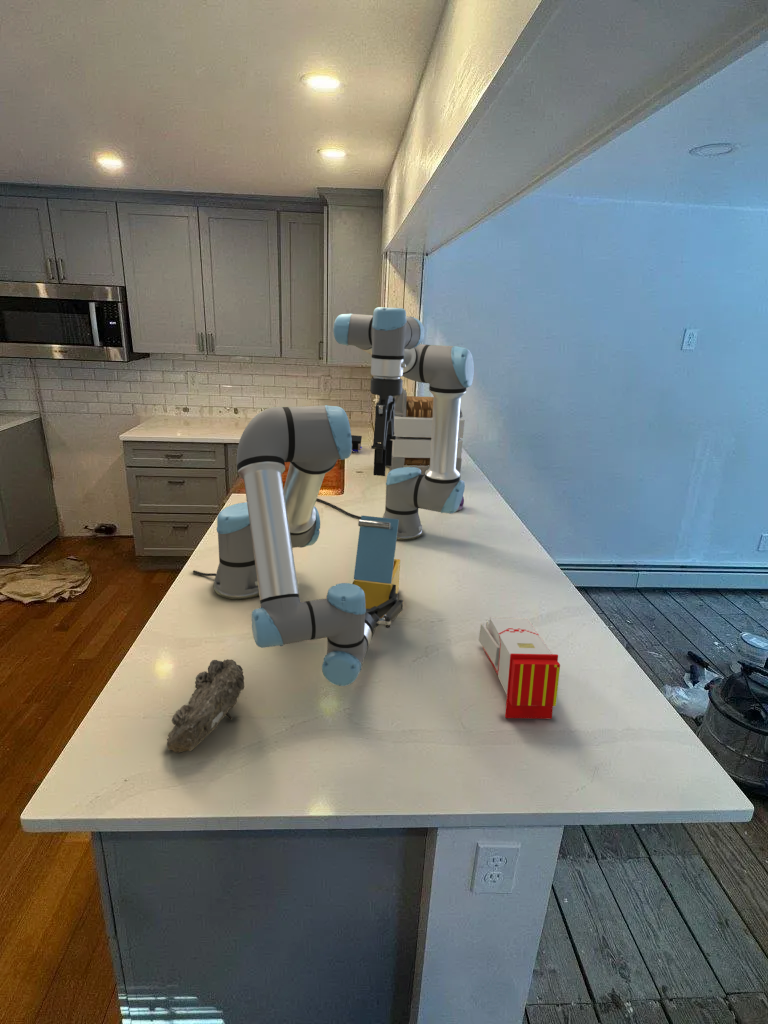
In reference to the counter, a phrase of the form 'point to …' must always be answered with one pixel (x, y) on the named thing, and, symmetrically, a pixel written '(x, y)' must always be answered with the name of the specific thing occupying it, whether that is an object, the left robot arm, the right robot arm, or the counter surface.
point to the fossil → (206, 705)
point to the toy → (522, 666)
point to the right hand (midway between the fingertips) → (382, 470)
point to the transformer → (416, 432)
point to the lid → (376, 549)
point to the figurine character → (356, 443)
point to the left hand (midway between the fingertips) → (374, 587)
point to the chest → (379, 588)
